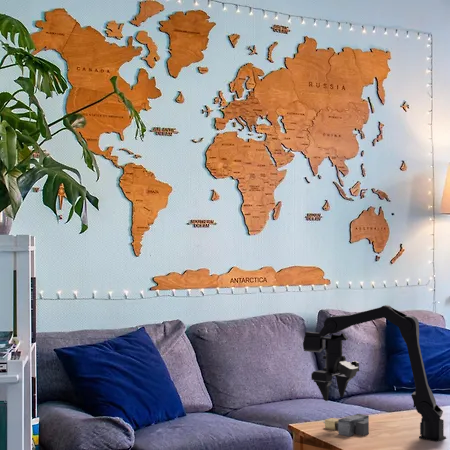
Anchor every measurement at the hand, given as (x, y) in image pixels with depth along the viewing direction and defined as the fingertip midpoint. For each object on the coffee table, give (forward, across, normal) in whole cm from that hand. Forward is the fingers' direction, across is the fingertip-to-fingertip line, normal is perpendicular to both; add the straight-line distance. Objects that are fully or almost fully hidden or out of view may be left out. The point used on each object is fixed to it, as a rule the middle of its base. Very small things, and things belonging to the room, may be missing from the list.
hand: (334, 398), depth 248 cm
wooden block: (+10, 0, 0) cm, 10 cm away
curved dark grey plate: (+10, 0, -8) cm, 13 cm away
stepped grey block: (+10, 0, -7) cm, 12 cm away
